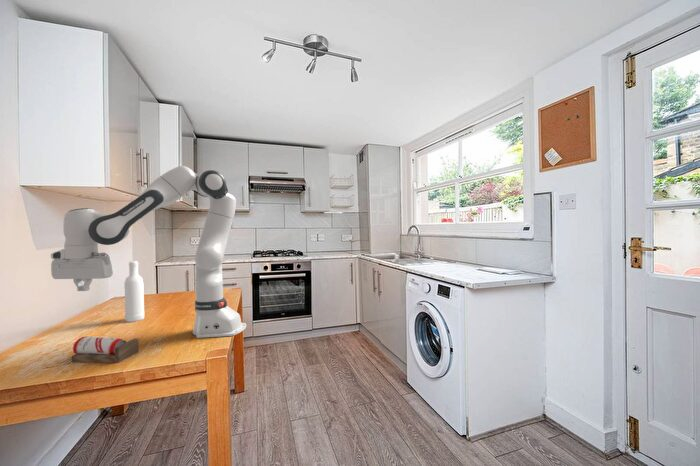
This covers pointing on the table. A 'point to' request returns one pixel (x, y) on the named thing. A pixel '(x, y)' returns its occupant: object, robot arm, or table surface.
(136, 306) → the bottle
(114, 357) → the rest
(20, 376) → the table surface
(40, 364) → the table surface
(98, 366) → the table surface
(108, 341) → the beer can
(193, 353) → the table surface
